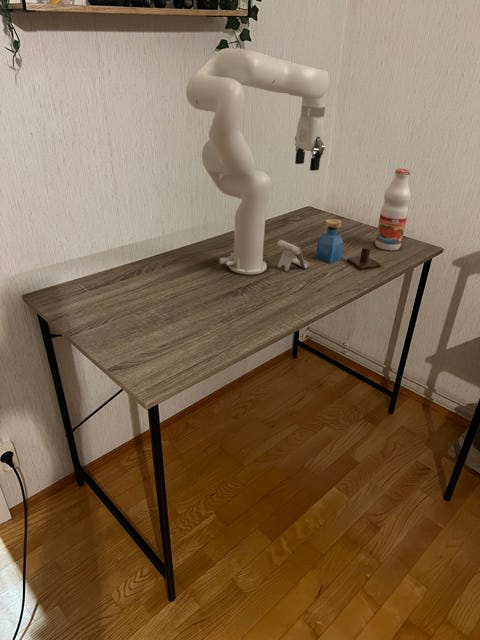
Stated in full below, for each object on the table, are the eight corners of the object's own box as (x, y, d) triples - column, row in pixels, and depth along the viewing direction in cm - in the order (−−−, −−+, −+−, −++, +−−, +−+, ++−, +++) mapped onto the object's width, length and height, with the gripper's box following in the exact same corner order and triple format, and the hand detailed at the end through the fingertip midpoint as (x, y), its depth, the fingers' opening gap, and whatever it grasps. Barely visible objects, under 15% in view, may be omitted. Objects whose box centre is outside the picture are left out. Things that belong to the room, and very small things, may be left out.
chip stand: (360, 270, 164) (363, 253, 161) (346, 260, 170) (349, 244, 167) (380, 266, 166) (383, 250, 164) (365, 258, 173) (368, 242, 170)
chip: (330, 228, 162) (331, 224, 161) (322, 223, 166) (323, 219, 166) (344, 226, 164) (344, 222, 163) (335, 222, 168) (336, 218, 167)
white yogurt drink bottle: (399, 243, 187) (415, 168, 173) (401, 252, 179) (418, 174, 165) (374, 240, 189) (388, 165, 175) (374, 249, 181) (389, 171, 167)
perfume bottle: (315, 257, 171) (319, 224, 165) (326, 253, 175) (330, 221, 169) (330, 263, 167) (335, 229, 161) (340, 258, 171) (345, 225, 165)
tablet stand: (308, 268, 163) (311, 244, 159) (291, 273, 159) (294, 249, 154) (290, 259, 169) (292, 236, 164) (273, 264, 164) (275, 241, 160)
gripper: (289, 109, 163) (284, 161, 172) (316, 116, 150) (310, 173, 158) (308, 108, 166) (303, 160, 175) (337, 116, 153) (330, 172, 161)
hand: (306, 166), depth 167 cm, fingers open, 9 cm apart
